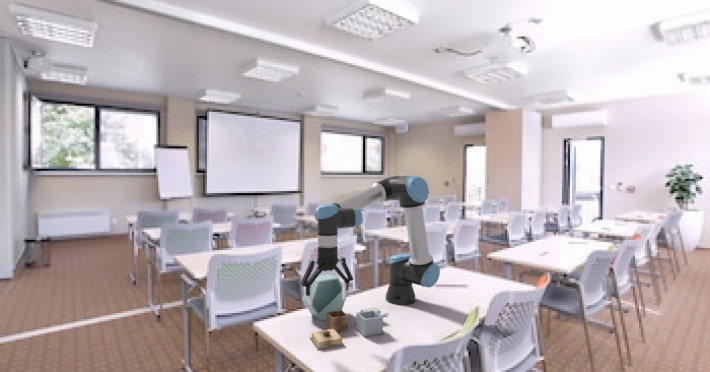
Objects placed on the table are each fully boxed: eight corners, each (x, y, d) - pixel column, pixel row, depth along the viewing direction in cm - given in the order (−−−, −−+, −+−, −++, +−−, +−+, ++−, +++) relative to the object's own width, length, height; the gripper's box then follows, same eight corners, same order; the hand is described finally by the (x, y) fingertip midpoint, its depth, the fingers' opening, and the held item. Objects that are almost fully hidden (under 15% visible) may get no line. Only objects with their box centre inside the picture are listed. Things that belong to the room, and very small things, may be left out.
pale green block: (374, 318, 163) (374, 306, 163) (380, 322, 159) (380, 310, 158) (360, 320, 160) (360, 309, 159) (366, 324, 155) (366, 313, 155)
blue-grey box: (373, 326, 153) (373, 310, 153) (382, 334, 146) (382, 316, 146) (356, 329, 150) (356, 312, 150) (364, 337, 143) (364, 319, 142)
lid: (333, 334, 144) (333, 325, 144) (342, 343, 136) (342, 334, 136) (311, 338, 141) (311, 329, 141) (318, 348, 132) (319, 338, 132)
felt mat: (334, 334, 145) (334, 333, 145) (343, 345, 136) (343, 344, 136) (309, 338, 141) (309, 337, 141) (317, 350, 132) (317, 349, 132)
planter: (326, 329, 161) (304, 295, 153) (317, 323, 167) (295, 290, 159) (352, 302, 169) (332, 268, 162) (343, 297, 175) (323, 264, 168)
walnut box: (341, 324, 155) (341, 310, 155) (347, 330, 149) (348, 315, 149) (325, 326, 152) (326, 312, 152) (331, 333, 146) (331, 318, 146)
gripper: (353, 241, 146) (353, 294, 147) (292, 246, 136) (292, 302, 136) (361, 245, 139) (361, 300, 140) (297, 250, 129) (297, 309, 130)
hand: (327, 301), depth 138 cm, fingers open, 13 cm apart
